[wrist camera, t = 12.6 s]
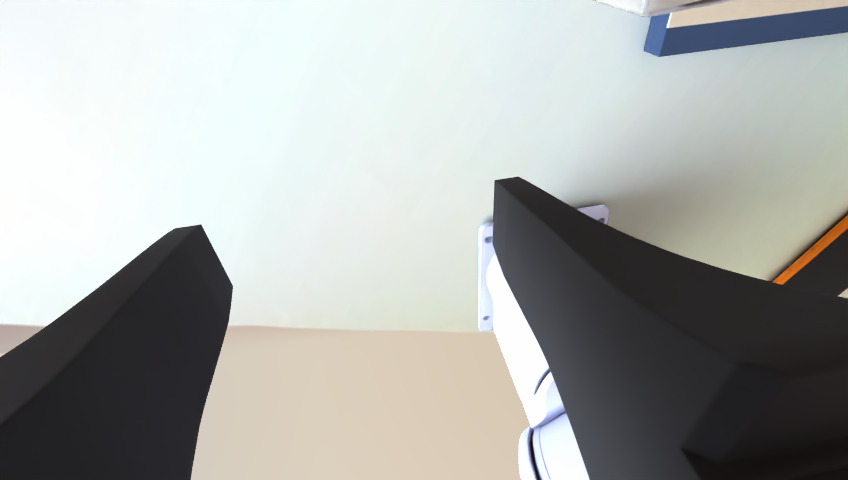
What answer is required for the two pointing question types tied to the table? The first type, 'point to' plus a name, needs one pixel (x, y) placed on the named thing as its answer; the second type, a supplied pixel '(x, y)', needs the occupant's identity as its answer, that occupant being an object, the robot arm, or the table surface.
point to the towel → (744, 24)
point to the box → (658, 5)
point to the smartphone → (822, 264)
